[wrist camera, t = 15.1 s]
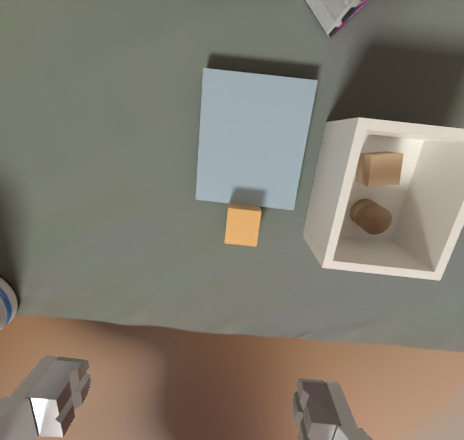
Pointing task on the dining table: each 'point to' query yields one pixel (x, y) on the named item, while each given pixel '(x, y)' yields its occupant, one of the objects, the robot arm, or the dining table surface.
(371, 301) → the dining table surface
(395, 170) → the part
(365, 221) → the part
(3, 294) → the supplement tub
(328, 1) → the candy bar box
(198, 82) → the dining table surface
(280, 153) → the lid
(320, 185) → the tub
